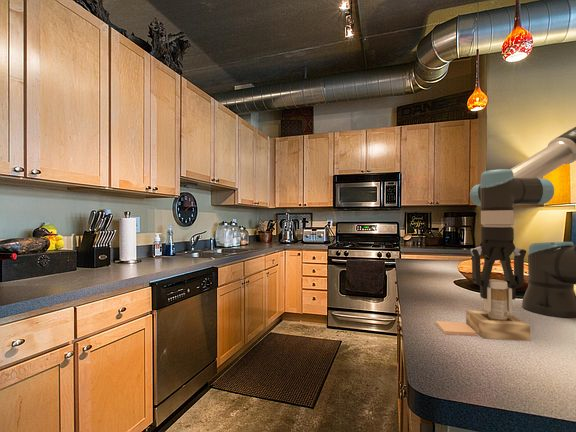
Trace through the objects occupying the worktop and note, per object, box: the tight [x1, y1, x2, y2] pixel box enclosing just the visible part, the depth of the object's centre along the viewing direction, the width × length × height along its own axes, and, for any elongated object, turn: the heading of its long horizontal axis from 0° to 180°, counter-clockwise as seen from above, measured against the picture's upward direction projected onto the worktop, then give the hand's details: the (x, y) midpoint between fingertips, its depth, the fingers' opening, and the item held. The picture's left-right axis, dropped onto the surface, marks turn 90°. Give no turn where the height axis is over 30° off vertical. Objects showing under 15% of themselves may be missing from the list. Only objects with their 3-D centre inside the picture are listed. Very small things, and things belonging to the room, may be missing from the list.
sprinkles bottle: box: [488, 279, 508, 321], centre depth 85 cm, size 5×5×14 cm
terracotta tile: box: [435, 320, 478, 337], centre depth 87 cm, size 8×8×1 cm
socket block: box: [465, 309, 531, 342], centre depth 85 cm, size 11×11×4 cm
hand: (497, 310), depth 85 cm, fingers closed on sprinkles bottle, 4 cm apart
